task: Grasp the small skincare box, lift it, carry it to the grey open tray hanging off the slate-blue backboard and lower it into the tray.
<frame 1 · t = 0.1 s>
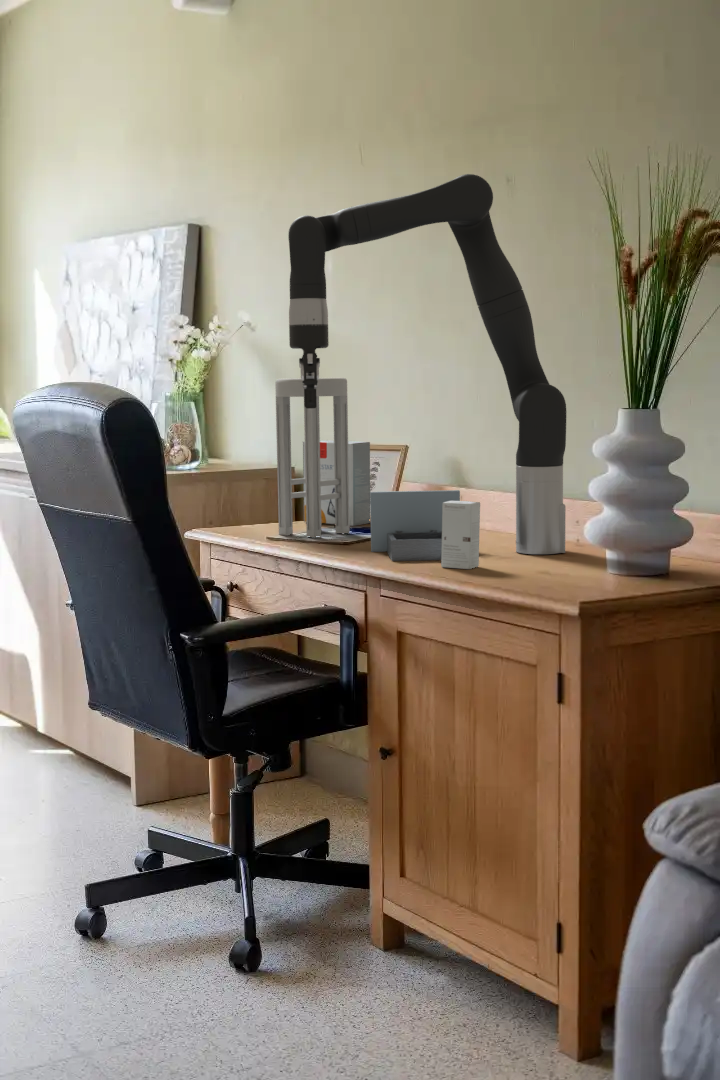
hand: (310, 408, 252), 29 cm above the table, fingers open, 8 cm apart
stool: (314, 534, 295), on the table
hard drive box: (337, 523, 317), on the table
grey open tray: (419, 556, 255), on the table
skincare box: (460, 568, 240), on the table
backboard: (415, 550, 264), on the table
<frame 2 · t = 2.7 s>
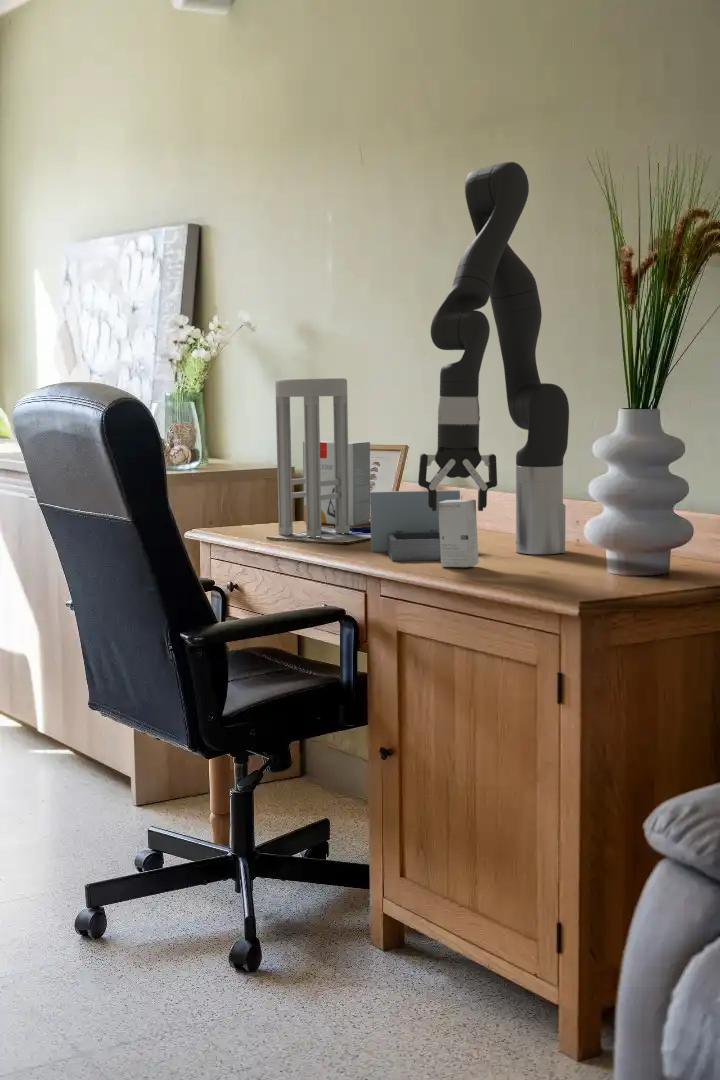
hand: (457, 510, 238), 10 cm above the table, fingers open, 8 cm apart
nothing on the table moved.
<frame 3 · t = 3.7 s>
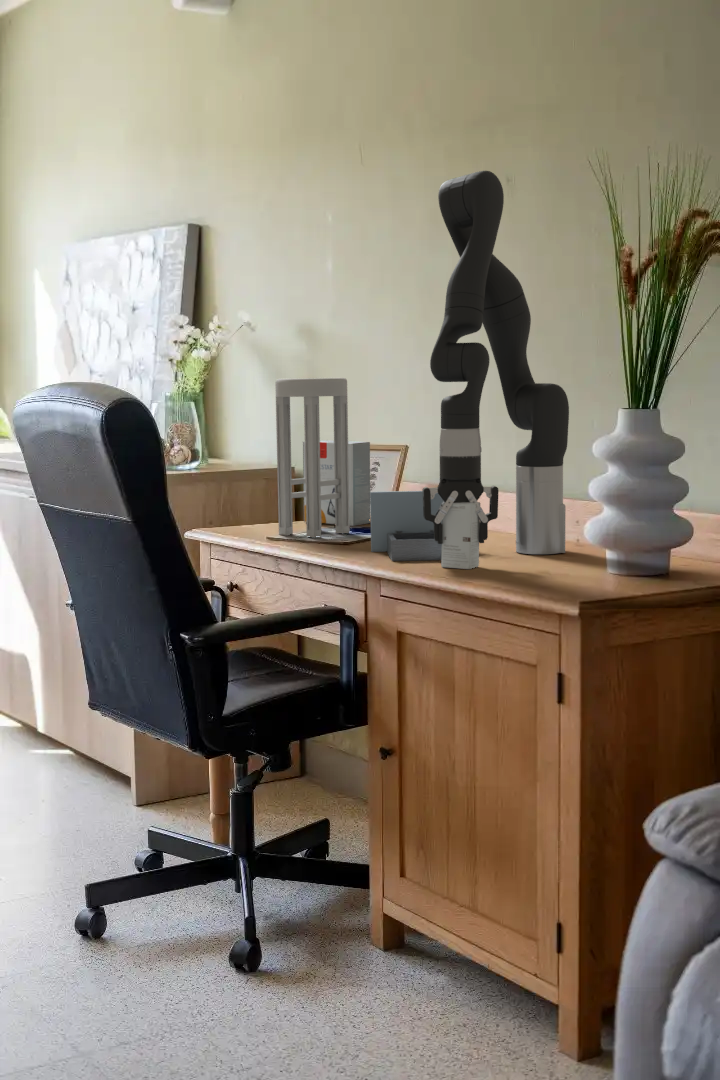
hand: (460, 543, 239), 4 cm above the table, fingers closed on skincare box, 7 cm apart
skincare box: (461, 568, 240), on the table, touching gripper
everything else where it was.
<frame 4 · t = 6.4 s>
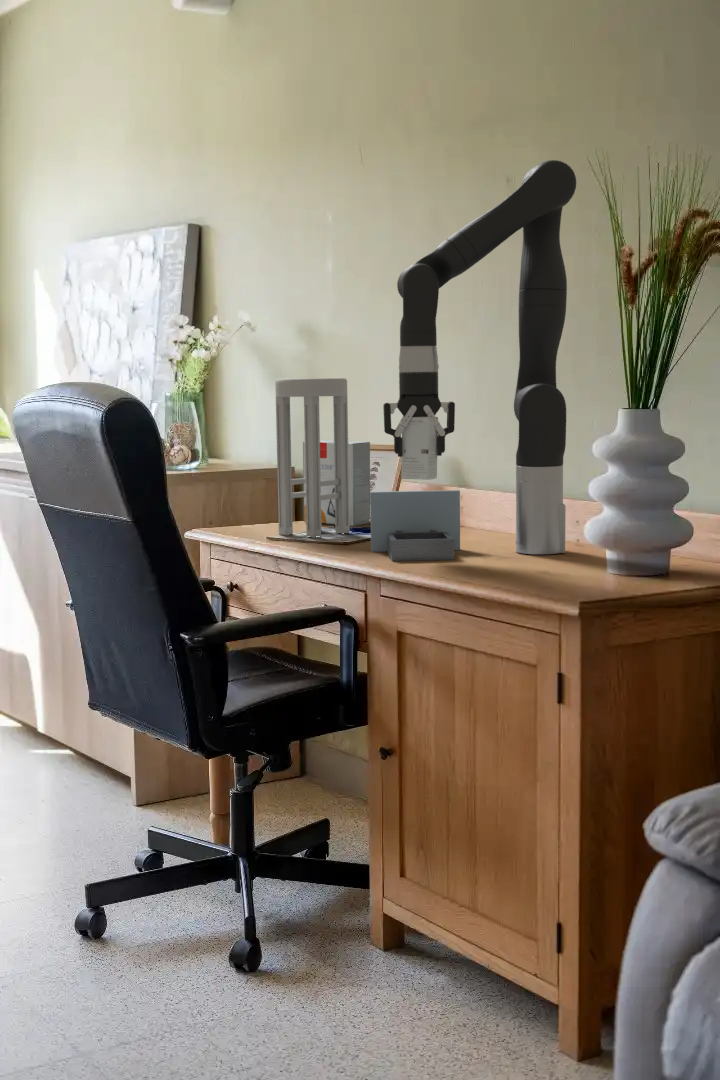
hand: (419, 455, 253), 20 cm above the table, fingers closed on skincare box, 7 cm apart
skincare box: (420, 480, 253), point 15 cm above the table, touching gripper
everything else where it was.
when the fingers open (7 cm above the table, at t = 9.4 s): skincare box drops 2 cm, resting on grey open tray.
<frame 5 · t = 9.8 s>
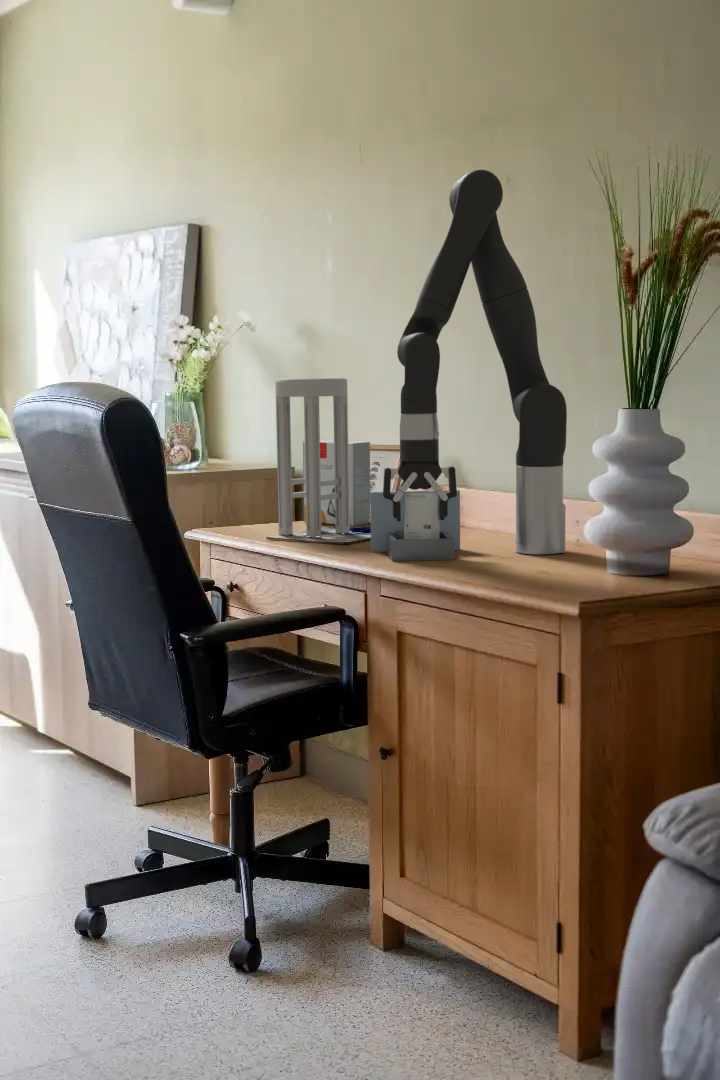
hand: (420, 520, 254), 7 cm above the table, fingers open, 8 cm apart
skincare box: (422, 554, 255), resting on grey open tray, touching gripper
everything else where it was.
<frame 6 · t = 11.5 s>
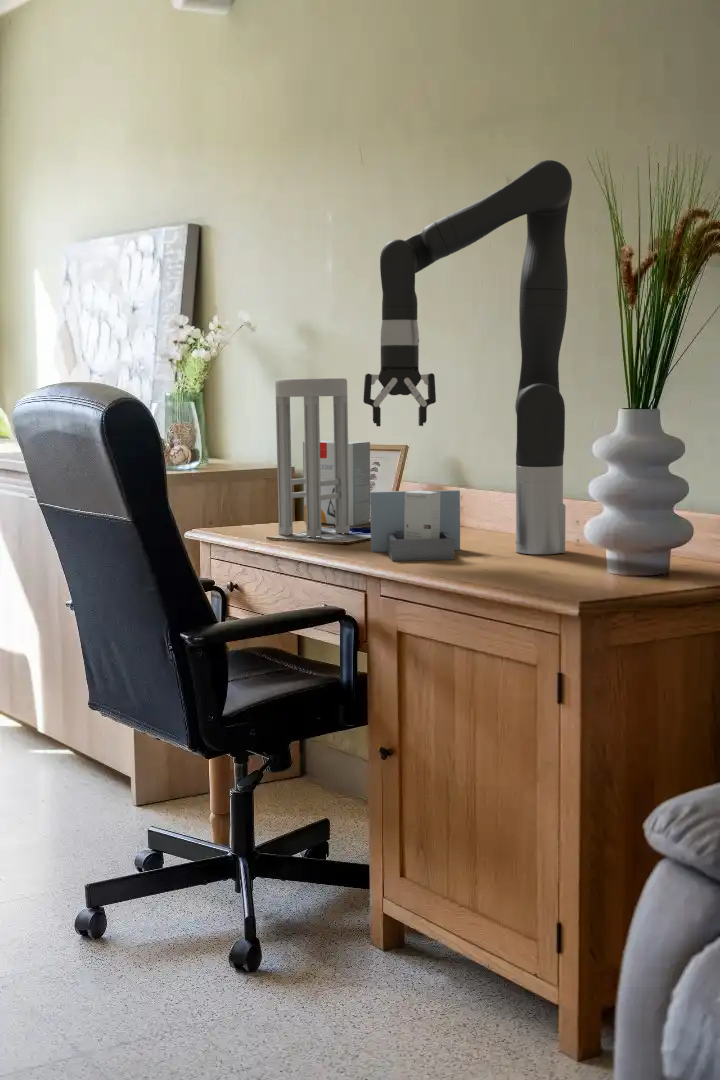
hand: (399, 426, 259), 25 cm above the table, fingers open, 8 cm apart
skincare box: (422, 554, 255), resting on grey open tray
everything else where it was.
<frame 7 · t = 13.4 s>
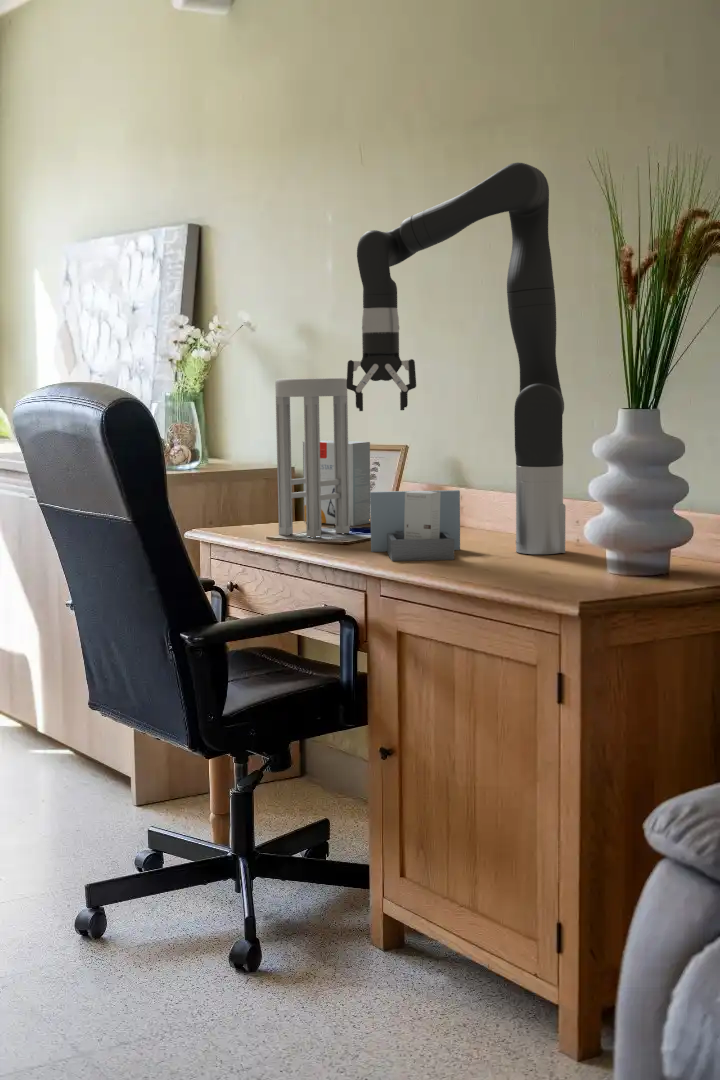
hand: (381, 410, 268), 28 cm above the table, fingers open, 8 cm apart
nothing on the table moved.
at the end: skincare box inside the target area on the grey open tray (0.5 cm from its centre), point 0.4 cm above the grey open tray's base; skincare box tilted 0°; the gripper is holding nothing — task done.
